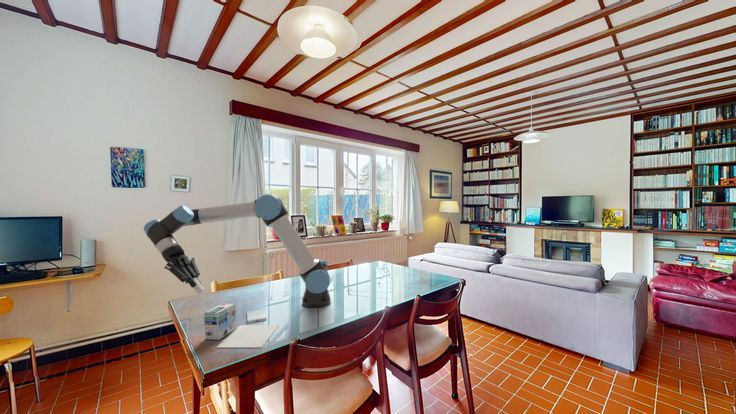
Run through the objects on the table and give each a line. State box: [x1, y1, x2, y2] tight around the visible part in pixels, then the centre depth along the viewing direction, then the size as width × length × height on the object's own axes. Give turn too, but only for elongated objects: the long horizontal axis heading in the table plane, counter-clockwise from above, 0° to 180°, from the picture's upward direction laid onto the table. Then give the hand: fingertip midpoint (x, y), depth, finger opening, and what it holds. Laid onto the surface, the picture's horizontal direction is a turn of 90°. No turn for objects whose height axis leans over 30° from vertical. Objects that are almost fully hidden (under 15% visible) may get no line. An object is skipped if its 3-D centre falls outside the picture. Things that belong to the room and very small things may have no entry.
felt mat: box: [216, 324, 280, 349], centre depth 112 cm, size 17×19×1 cm
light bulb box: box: [203, 302, 237, 341], centre depth 114 cm, size 11×7×11 cm, turn 168°
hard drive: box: [246, 308, 267, 324], centre depth 132 cm, size 2×8×12 cm
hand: (201, 291), depth 116 cm, fingers closed
